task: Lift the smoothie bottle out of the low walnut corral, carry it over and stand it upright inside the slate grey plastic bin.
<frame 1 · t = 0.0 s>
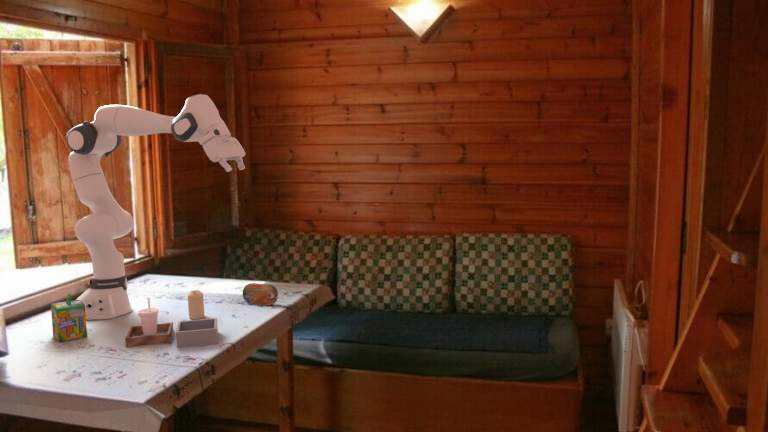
hand: (236, 170, 231), 54 cm above the table, tool tilted 30°, fingers open, 8 cm apart
candle: (196, 317, 243), on the table
tin: (261, 304, 259), on the table
chalk box: (70, 337, 223), on the table
bin: (197, 339, 217), on the table
smoothie: (150, 339, 219), resting in corral
corral: (150, 338, 219), on the table
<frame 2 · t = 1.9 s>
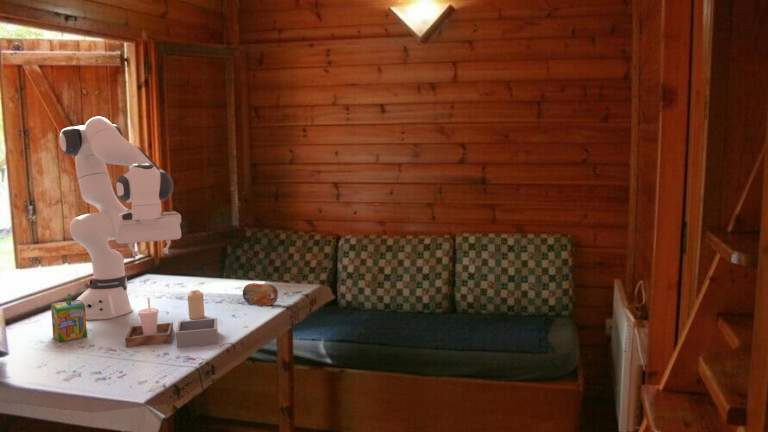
hand: (150, 254, 216), 28 cm above the table, tool pointing down, fingers open, 8 cm apart
nothing on the table moved.
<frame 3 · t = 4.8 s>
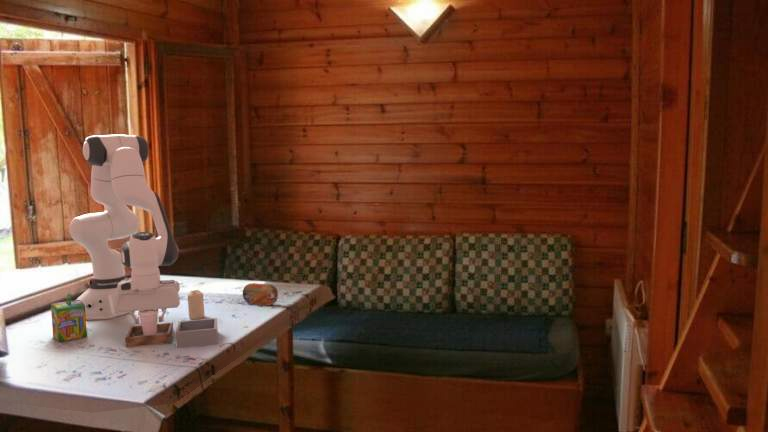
hand: (149, 322, 218), 6 cm above the table, tool pointing down, fingers closed on smoothie, 6 cm apart
smoothie: (150, 339, 219), resting in corral, touching gripper
everything else where it was.
when the fingers open (8 cm above the table, at t = 12.1 s): smoothie stays where it is, resting on bin.
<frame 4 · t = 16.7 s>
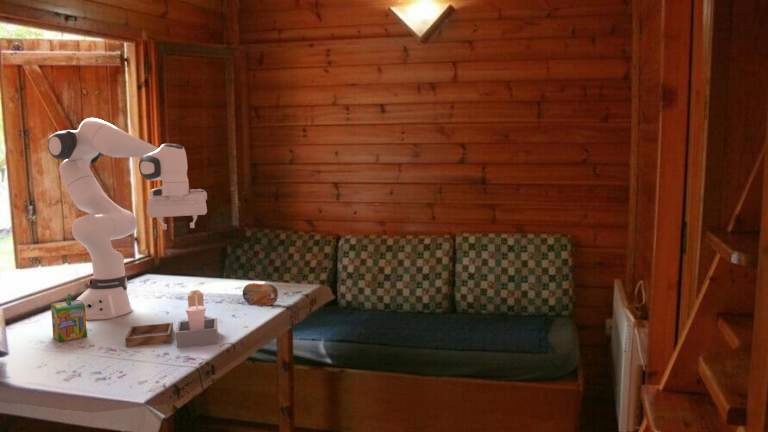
hand: (178, 228, 233), 34 cm above the table, tool pointing down, fingers open, 8 cm apart
smoothie: (197, 337, 217), point 1 cm above the table, touching bin
everything else where it was.
at the end: smoothie inside the target area on the bin (0.1 cm from its centre), point 0.8 cm above the bin's base; smoothie tilted 0°; the gripper is holding nothing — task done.
